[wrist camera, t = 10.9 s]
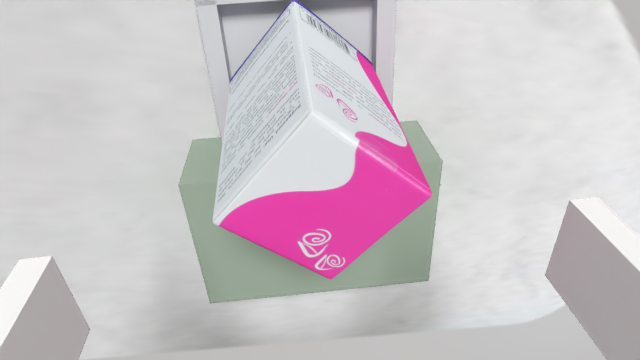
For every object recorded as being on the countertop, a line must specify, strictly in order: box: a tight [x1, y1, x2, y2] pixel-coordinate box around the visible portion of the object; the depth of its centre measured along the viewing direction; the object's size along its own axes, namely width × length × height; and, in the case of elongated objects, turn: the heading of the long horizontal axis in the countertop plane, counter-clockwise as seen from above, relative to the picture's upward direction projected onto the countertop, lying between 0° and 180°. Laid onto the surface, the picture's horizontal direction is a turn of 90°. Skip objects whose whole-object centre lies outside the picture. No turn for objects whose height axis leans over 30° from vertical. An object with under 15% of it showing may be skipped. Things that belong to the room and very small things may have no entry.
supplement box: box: [212, 0, 433, 279], centre depth 20 cm, size 6×6×12 cm
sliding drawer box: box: [179, 0, 443, 303], centre depth 25 cm, size 14×18×6 cm
